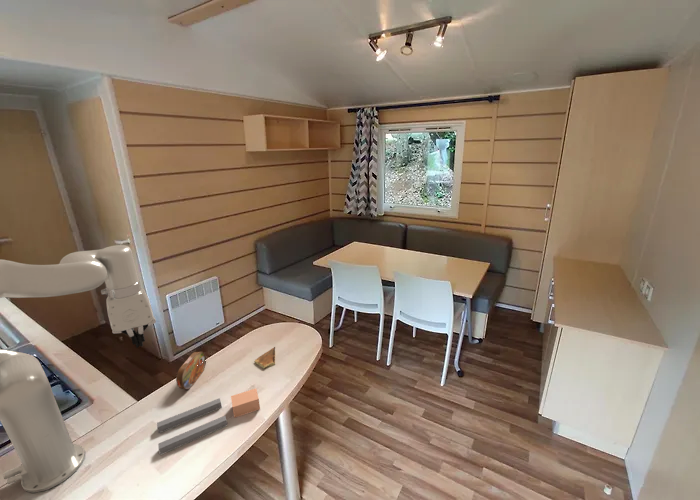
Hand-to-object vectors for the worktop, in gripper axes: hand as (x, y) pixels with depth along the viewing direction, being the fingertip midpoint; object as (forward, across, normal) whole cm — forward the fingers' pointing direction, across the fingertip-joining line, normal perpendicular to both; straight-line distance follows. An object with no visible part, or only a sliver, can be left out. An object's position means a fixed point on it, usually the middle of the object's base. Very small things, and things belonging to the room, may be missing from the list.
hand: (139, 344), depth 95 cm
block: (+25, +25, -15) cm, 38 cm away
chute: (+25, +9, -14) cm, 30 cm away
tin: (+25, +12, +9) cm, 29 cm away
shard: (+26, +38, +6) cm, 46 cm away
